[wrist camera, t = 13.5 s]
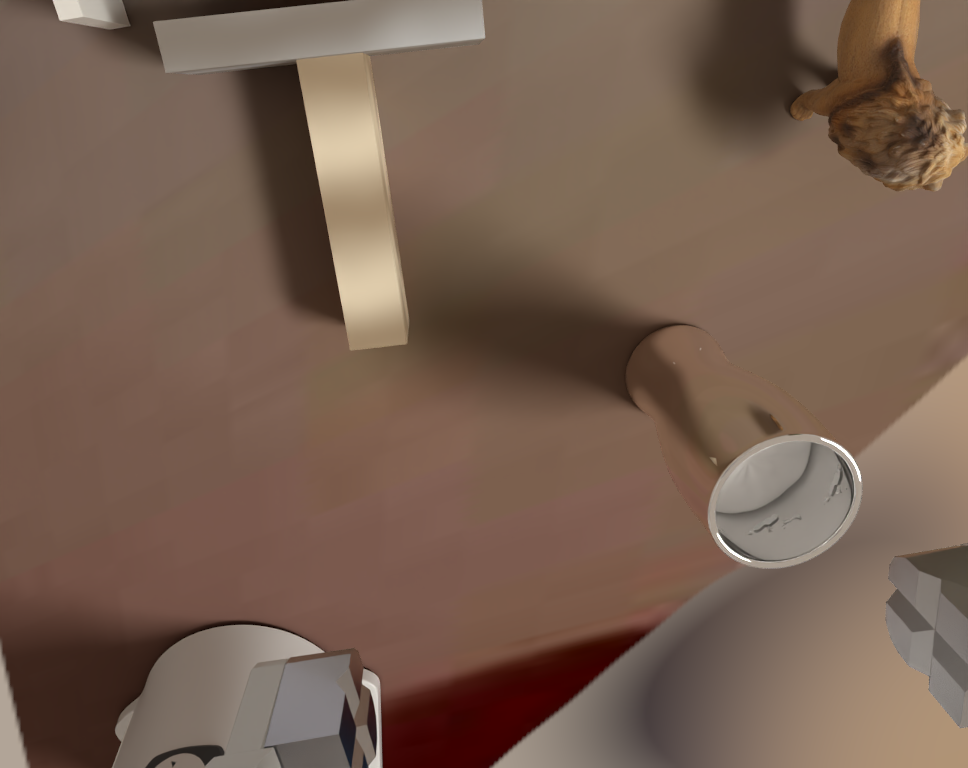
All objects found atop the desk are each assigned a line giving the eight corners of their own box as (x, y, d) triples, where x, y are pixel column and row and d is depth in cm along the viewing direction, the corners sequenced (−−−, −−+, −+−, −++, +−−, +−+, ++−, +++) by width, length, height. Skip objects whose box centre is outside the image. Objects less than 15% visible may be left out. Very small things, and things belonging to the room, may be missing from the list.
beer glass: (752, 373, 44) (898, 506, 30) (661, 443, 45) (761, 600, 31) (687, 293, 41) (813, 396, 28) (594, 369, 43) (670, 503, 29)
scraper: (503, 310, 41) (512, 338, 37) (262, 338, 41) (241, 369, 36) (474, -1, 35) (480, -14, 30) (190, 30, 35) (152, 21, 30)
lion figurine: (886, 161, 39) (1007, 181, 31) (791, 187, 40) (886, 213, 31) (876, -152, 34) (1021, -230, 25) (766, -120, 34) (873, -187, 26)
